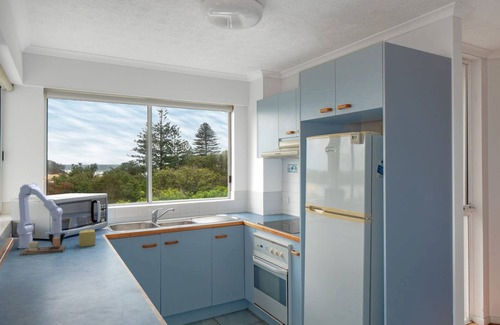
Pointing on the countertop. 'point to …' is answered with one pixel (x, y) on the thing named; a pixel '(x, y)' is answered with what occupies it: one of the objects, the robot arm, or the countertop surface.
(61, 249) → the puzzle board
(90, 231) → the cheese
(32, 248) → the maple block
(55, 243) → the terracotta block
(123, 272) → the countertop surface
